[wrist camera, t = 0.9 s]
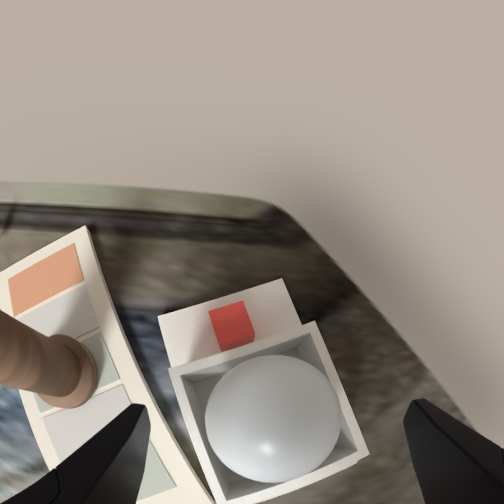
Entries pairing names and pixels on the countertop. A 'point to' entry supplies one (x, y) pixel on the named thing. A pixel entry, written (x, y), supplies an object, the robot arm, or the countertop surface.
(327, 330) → the countertop surface
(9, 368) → the pawn
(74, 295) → the game track
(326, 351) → the base
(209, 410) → the dome
